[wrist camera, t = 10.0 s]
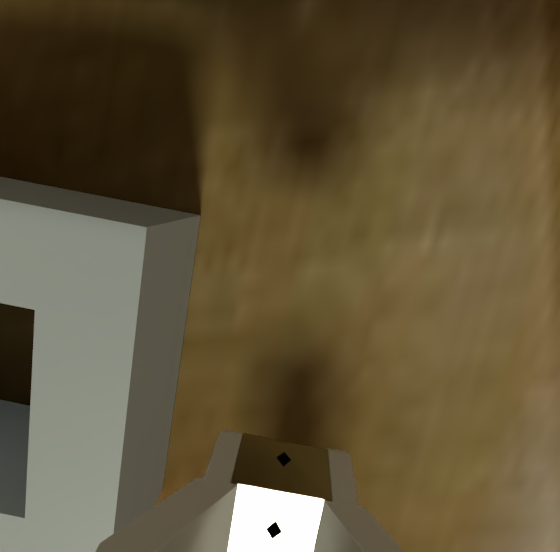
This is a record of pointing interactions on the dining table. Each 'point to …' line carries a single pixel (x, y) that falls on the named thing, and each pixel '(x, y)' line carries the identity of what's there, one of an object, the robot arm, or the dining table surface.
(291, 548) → the robot arm
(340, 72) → the dining table surface
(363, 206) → the dining table surface
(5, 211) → the holed block
